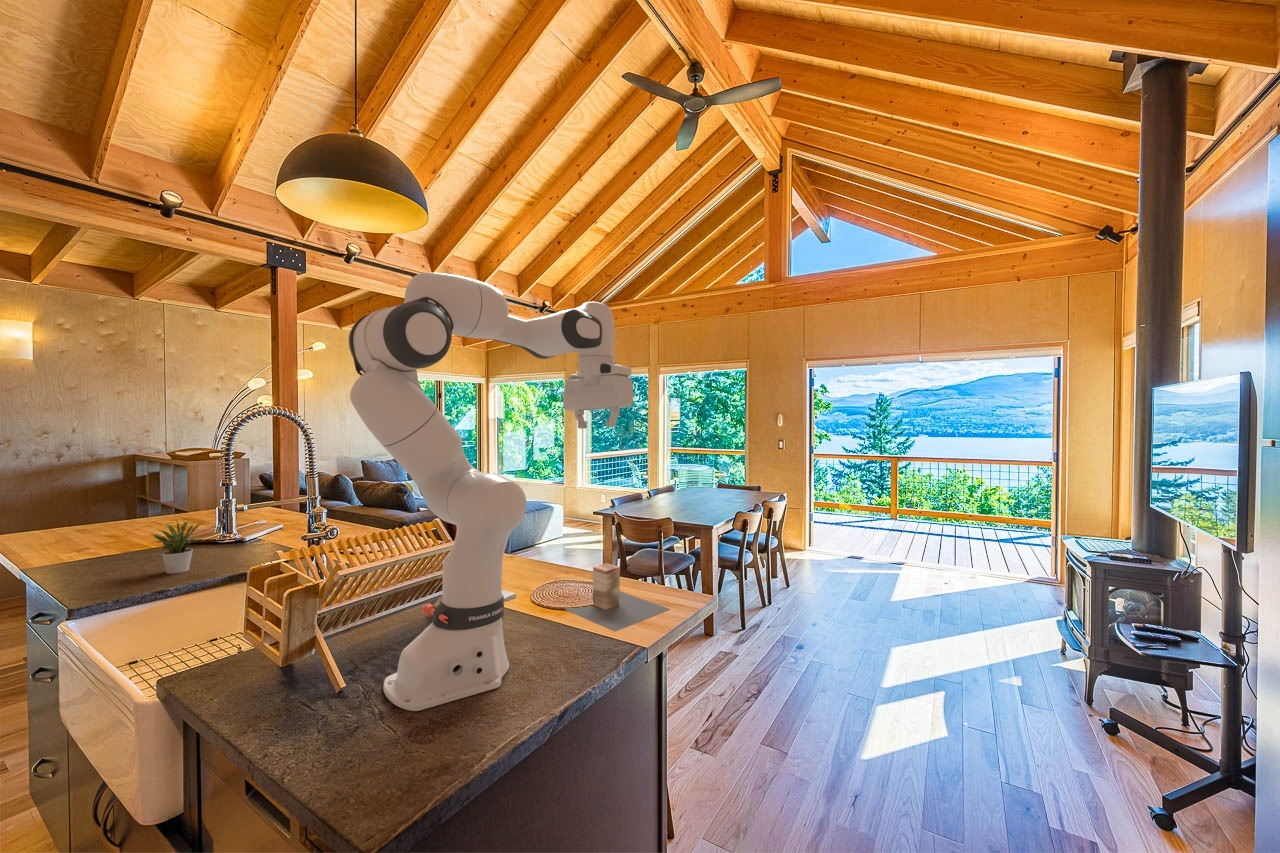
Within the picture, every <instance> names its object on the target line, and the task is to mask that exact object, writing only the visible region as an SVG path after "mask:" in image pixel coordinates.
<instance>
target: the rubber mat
mask: <svg viewBox="0 0 1280 853" xmlns="http://www.w3.org/2000/svg"><path fill="white" fill-rule="evenodd" d="M570 607H571V606H570ZM570 607H567V608H566V607H565V608H564V610H565V611H567V612H569V613H571V614H574V615H577V616H578V617H581V618H583V619H585V620H587V621H590V622H592V623H594V624H597V625H599V626H601V627H604V628H606V629H609V630H610V631H613V632H617V631H619V630H622V629H624V628H627V627H630V626H633V625H635V624H637V623H640V622H643V621H645V620H648V619H650V618H653V617H655V616H658V615H661V614H662V613H666V612H668V611H670V610H671V608H668V607H667V606H666V607H665V606H663V605H660V604H657V603H654V602H651V601H649V600H646V599H643V598H641V597H637V596H635V595H631V594H629V593H626V592H623V591H621V590H620V592H619V605H617V606H614V607H611V608H608V609H603V608H600V607H598V606H595V605H594V606H587V607H579V608H570Z"/></svg>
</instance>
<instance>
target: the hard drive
mask: <svg viewBox="0 0 1280 853" xmlns="http://www.w3.org/2000/svg"><path fill="white" fill-rule="evenodd" d="M502 595H503V596H504V603H505V602H507V601H509V600H512V599H514V598H517V594H516V593H515V592H513V591H509V590H503V589H502Z"/></svg>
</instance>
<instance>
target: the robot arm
mask: <svg viewBox="0 0 1280 853" xmlns="http://www.w3.org/2000/svg"><path fill="white" fill-rule="evenodd" d="M404 291H405V293H404V301H403V303H401V304H398V305H395V306H387V307H383V308H379V309H377V310H376V311H374V312H371V313H370V314H369V313H368V314H366V315H364V316H362V317H360V318H359V319H358V320H357V321H356V322H355V323H354V325H352V328H351V329H350V332H349V334H348V347H349V350H350V354H351V356H352V358H353V363H354V367H355V371H356V373H357V374H358V375H359V377H358V378H357V379H356V380H355V382H354V383H353V385H352V387H351V389H350V392H349V393H350V394H349V398H350V402H351V404H352V405H353V408H354V410H355V411H356V413H357V414H358V416H359V418H360V419H361V421H362V422H363V423H364V425H365V426H366V428H367V429H368V430H369V432H370V433H371V434H372V435H373V436H374V438H375V439H376V440H377V441H378V443H380V444H381V446H382V447H383V448H384V449H385V450H386V451H387V452H388V453H389V455H390V456H392V458H394V460H395V461H396V462H397V464H399V465H400V466H401V467H402V468H403V470H404V471H405V472H406V473H407V474H408V475H409V476H410V478H411V479H412V481H413V482H414V483H415V485H416V487H417V488H418V490H419V492H420V493H421V495H422V497H423V498H424V500H425V504H426V507H427V508H428V509H429V510H430V511H431V512H432V513H433V514H434V516H437V518H439V519H440V520H442V521H444V522H446V523H448V524H452V525H455V527H456V533H455V538H454V542H453V545H452V547H451V550H450V552H449V553H448V554H447V555H446V556H445V557H444V559H443V562H442V592H441V593H442V597H441V598H442V599H441V600H440V601H439V604H438V605H437V606H434V605H433V604H431V603H426V604H424V605H423V607H422V610H421V611H422V613H423V615H425V616H426V617H429V618H430V617H432V622H431V623H430V624H429V625H428V626H427V627H426V628H425V629H423V631H422V632H420V634H418V635H417V636H416V637H415V638H414V639H413V640H412V641H411V642H410V643H409V644H408V645H407V646H406V647H404V649H403V650H402V651H401V653H400V655H399V660H398V665H397V671H396V672H395V673H392V674H390V675H388V676H386V677H385V679H384V681H383V687H382V688H383V693H384V695H385V697H386V698H387V699H388V701H390V702H391V703H392V704H394V705H395V706H397V707H399V708H401V709H403V710H406V711H411V712H419V711H423V710H426V709H430V708H434V707H436V706H439V705H440V706H441V705H443V704H446V703H450V702H453V701H456V700H457V701H458V700H461V699H464V698H468V697H470V696H474V695H477V694H478V695H479V694H480V693H484V692H487V691H491V690H494V689H498V688H499V687H500V686H501V684H502V679H503V677H504V676H505V675H506V674H507V672H508V670H509V668H510V662H509V659H508V656H507V652H506V651H507V650H506V646H505V640H504V631H503V620H504V616H505V615H504V614H505V611H504V610H505V602H504V596H503V595H502V590H503V565H504V564H503V563H504V555H505V551H506V548H507V543H508V541H509V538H510V535H511V534H512V532H513V530H514V529H515V528H516V527H517V526H519V525H520V523H521V522H522V520H523V519H524V517H525V514H526V511H527V496H526V494H525V492H524V490H523V488H522V487H521V486H520V485H519V484H517V483H515V482H514V481H513V480H511V479H509V478H507V477H505V476H503V475H501V474H495V473H490V472H484V471H480V470H478V469H476V468H475V467H474V466H473V465H472V464H471V463H470V462H469V460H468V459H467V457H466V456H467V455H466V454H465V452H464V450H463V439H462V437H461V435H460V434H459V433H458V432H457V430H456V429H455V428H454V426H453V425H452V424H451V423H450V422H449V421H448V419H447V418H446V417H445V416H444V415H443V413H442V412H441V411H440V410H439V408H438V407H437V406H436V405H435V404H434V402H433V401H432V400H431V399H430V397H429V396H428V395H427V394H426V393H425V392H424V390H423V388H422V386H421V384H420V381H419V378H418V377H419V376H418V370H419V369H425V368H429V367H432V366H433V365H435V364H437V363H438V362H440V361H441V360H442V359H444V357H445V356H446V355H447V353H448V351H449V350H450V346H451V344H452V343H451V342H452V338H453V336H458V337H463V338H464V337H465V338H469V339H475V340H476V339H478V340H491V341H494V342H495V341H496V342H498V343H503V344H507V345H511V346H515V347H519V348H521V349H523V350H525V351H526V352H528V353H529V354H531V355H532V356H533V357H535V358H537V359H541V360H546V359H547V360H548V359H550V358H554V357H557V356H560V355H561V356H563V355H566V354H567V355H568V354H571V353H577V354H578V356H577V362H578V363H577V367H578V368H577V373H574V374H573V373H572V374H570V375H569V376H568V377H567V379H566V380H565V385H564V390H563V391H564V392H563V399H562V402H563V403H562V406H563V408H564V410H565V411H568V412H574V413H573V415H574V416H575V419H576V421H577V428H578V429H580V430H581V429H583V430H584V429H587V428H588V425H587V424H588V421H587V420H586V421H585V419H584V415H585V411H593V410H604V409H605V410H607V409H609V413H610V415H609V418H608V419H606V421H605V422H606V427H607V428H616V426H617V419H618V417H619V415H620V413H621V412H620V409H621V408H630V407H631V406H632V404H633V402H634V389H633V388H634V387H633V386H634V385H633V381H632V378H631V376H632V368H631V367H629V366H626V365H622V364H619V363H617V362H616V360H615V358H616V357H615V354H614V344H615V343H616V342H615V339H616V338H615V337H616V336H615V334H616V333H615V323H614V322H615V321H614V315H613V312H612V309H611V308H610V306H608V305H607V304H605V303H602V302H598V301H586V302H584V303H582V305H580V306H578V307H575V308H569V309H565V310H560V311H558V312H554V313H551V314H547V315H543V316H538V317H534V318H530V319H522V318H519V317H517V316H513V315H510V312H509V311H510V309H509V304H508V301H507V299H506V296H505V295H504V293H503V292H502V290H500V289H499V288H497V287H495V286H493V285H491V284H489V283H486V282H483V281H480V280H476V279H473V278H470V277H465V276H460V275H456V274H450V273H444V272H443V273H442V272H431V271H430V272H429V271H425V272H419V273H418V274H416V275H414V276H413V277H412V278H411V279H410V280H409V282H408V284H407V286H406V288H405V290H404Z"/></svg>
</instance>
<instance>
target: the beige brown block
mask: <svg viewBox="0 0 1280 853" xmlns="http://www.w3.org/2000/svg"><path fill="white" fill-rule="evenodd" d="M620 573H621V567H620V566H617V565H614V564H611V563H607V562H606V563H603V564H599V565H598V564H597V565H595V566H593V567H592V600H593V603H594V604H595V606H598V607H600V608H603V609H608V608H611V607H614V606H617V605H619V592H620V591H621V590H620V582H621V579H620V578H621V576H620V575H621V574H620Z"/></svg>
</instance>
